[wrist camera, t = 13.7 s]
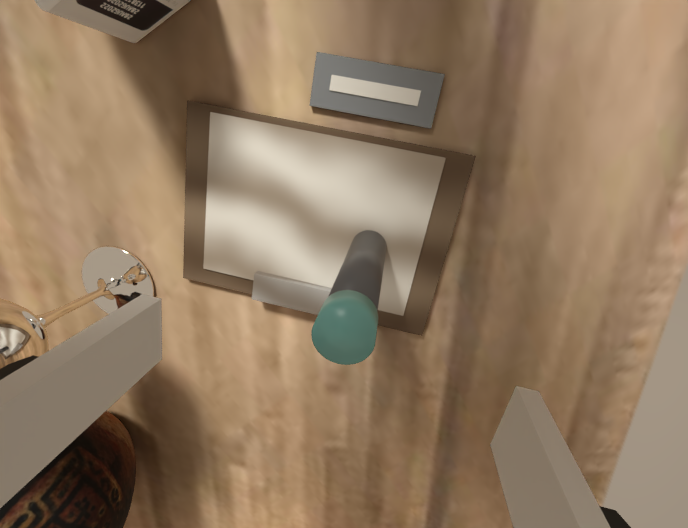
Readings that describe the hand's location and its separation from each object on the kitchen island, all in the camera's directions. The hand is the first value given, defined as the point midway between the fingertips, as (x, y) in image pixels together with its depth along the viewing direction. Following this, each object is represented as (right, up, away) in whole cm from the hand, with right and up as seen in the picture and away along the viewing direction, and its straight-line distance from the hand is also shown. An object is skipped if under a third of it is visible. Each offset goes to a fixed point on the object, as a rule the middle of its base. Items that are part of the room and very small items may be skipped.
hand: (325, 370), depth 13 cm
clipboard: (-2, +7, +16) cm, 18 cm away
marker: (+3, +5, +15) cm, 17 cm away
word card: (+3, +16, +12) cm, 21 cm away
